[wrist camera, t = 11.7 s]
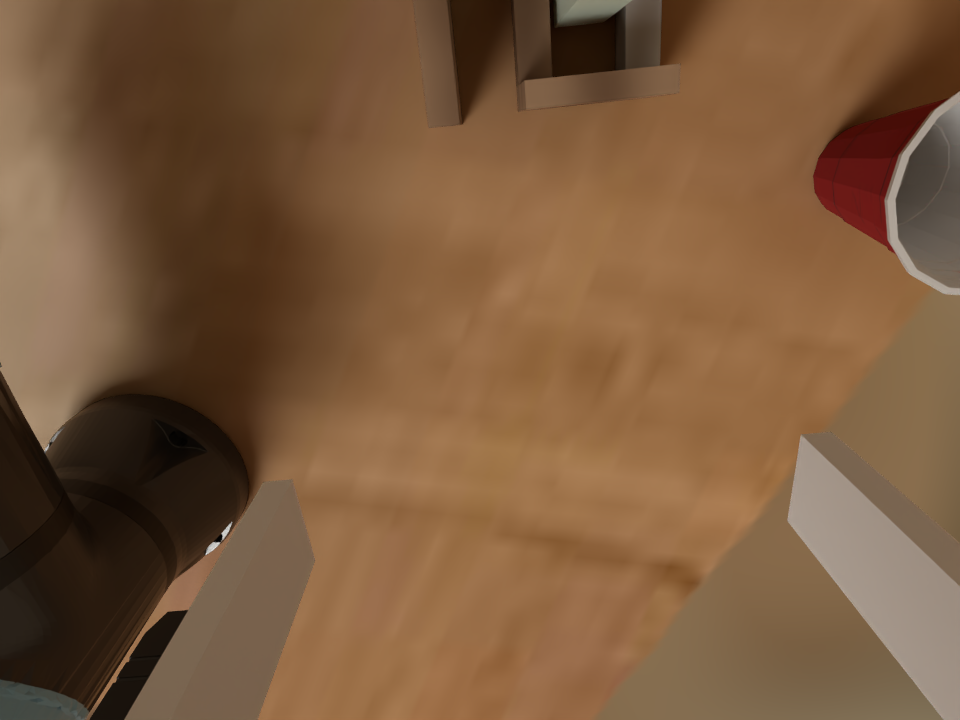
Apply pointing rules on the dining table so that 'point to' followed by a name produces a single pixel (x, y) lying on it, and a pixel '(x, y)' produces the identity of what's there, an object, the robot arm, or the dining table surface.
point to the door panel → (585, 11)
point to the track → (546, 60)
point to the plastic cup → (902, 187)
